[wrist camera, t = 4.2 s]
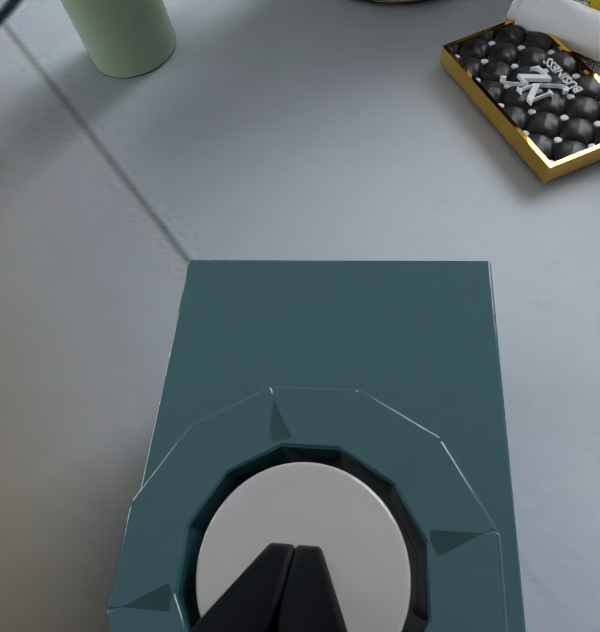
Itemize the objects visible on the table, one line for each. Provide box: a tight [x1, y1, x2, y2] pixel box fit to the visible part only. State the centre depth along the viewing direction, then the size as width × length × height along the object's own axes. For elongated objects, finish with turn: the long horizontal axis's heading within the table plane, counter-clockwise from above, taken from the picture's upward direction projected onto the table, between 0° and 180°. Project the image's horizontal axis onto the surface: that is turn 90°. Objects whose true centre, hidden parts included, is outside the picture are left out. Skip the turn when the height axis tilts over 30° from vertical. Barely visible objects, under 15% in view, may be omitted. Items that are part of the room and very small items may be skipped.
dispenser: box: [107, 260, 526, 632], centre depth 14 cm, size 11×8×9 cm
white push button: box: [196, 462, 411, 632], centre depth 10 cm, size 4×4×2 cm
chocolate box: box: [440, 19, 600, 183], centre depth 24 cm, size 9×1×5 cm
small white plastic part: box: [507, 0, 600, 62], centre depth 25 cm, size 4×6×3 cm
